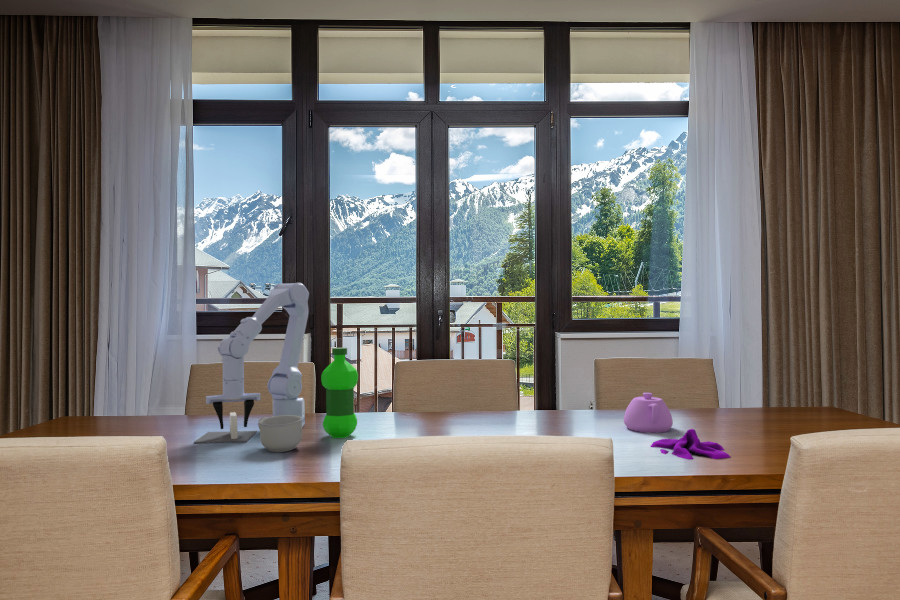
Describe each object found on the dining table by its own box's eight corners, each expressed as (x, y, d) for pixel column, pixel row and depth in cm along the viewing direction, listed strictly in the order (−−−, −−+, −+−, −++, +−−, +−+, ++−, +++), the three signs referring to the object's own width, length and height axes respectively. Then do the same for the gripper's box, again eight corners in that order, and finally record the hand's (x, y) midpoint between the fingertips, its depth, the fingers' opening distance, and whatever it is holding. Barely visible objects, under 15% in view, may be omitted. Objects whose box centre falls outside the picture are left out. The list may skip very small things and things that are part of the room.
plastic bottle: (318, 434, 181) (317, 347, 181) (353, 431, 185) (353, 346, 185) (325, 441, 171) (325, 350, 171) (363, 437, 176) (362, 348, 176)
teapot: (662, 421, 195) (661, 387, 195) (681, 435, 175) (680, 397, 175) (617, 421, 196) (616, 387, 196) (630, 435, 176) (630, 397, 176)
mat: (256, 432, 184) (256, 430, 184) (246, 442, 172) (246, 440, 172) (207, 433, 183) (207, 432, 183) (193, 443, 170) (193, 442, 170)
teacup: (310, 449, 163) (309, 418, 163) (271, 456, 155) (271, 424, 155) (283, 441, 173) (283, 411, 173) (246, 447, 165) (246, 417, 165)
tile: (237, 438, 174) (237, 416, 174) (231, 438, 174) (231, 417, 174) (235, 432, 182) (235, 412, 182) (229, 433, 181) (229, 412, 181)
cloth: (645, 442, 170) (645, 419, 170) (718, 445, 166) (718, 421, 166) (656, 463, 148) (656, 437, 148) (741, 467, 144) (741, 440, 144)
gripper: (258, 376, 184) (259, 422, 184) (205, 379, 179) (206, 427, 179) (261, 379, 177) (261, 427, 177) (206, 382, 172) (206, 431, 172)
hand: (233, 427), depth 178 cm, fingers open, 6 cm apart
